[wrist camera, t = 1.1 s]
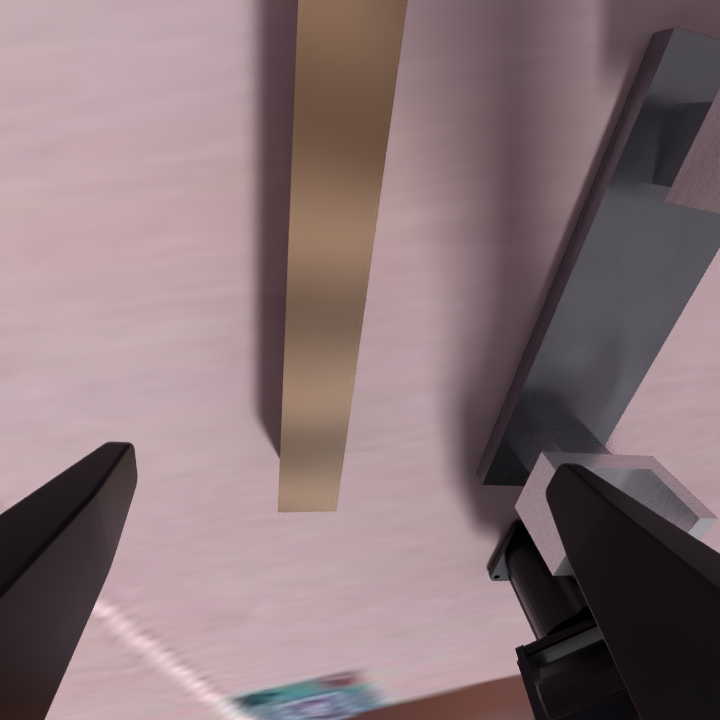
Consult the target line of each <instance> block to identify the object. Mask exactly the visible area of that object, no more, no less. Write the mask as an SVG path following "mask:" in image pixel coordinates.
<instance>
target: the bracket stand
mask: <svg viewBox="0 0 720 720" xmlns="http://www.w3.org/2000/svg"><path fill="white" fill-rule="evenodd" d="M719 248H720V40H718V39H714V38H711V37H707V36H703V35H700V34H696V33H693V32H689V31H685V30H682V29H678V28H671V29H667V30H664V31H660V32H656V33H654V35H653V37H652V40H651V42H650V45H649V47H648V50H647V52H646V55H645V57H644V60H643V62H642V65H641V67H640V70H639V72H638V75H637V77H636V79H635V82H634V84H633V87H632V89H631V92H630V94H629V97H628V99H627V102H626V104H625V107H624V109H623V112H622V114H621V117H620V119H619V122H618V124H617V127H616V129H615V131H614V134H613V136H612V139H611V141H610V144H609V146H608V149H607V151H606V154H605V156H604V159H603V161H602V164H601V166H600V169H599V171H598V174H597V176H596V178H595V181H594V183H593V186H592V188H591V191H590V193H589V196H588V198H587V201H586V203H585V206H584V208H583V211H582V213H581V216H580V218H579V221H578V223H577V226H576V228H575V230H574V233H573V235H572V238H571V240H570V243H569V245H568V248H567V250H566V253H565V255H564V258H563V260H562V263H561V265H560V268H559V270H558V273H557V275H556V277H555V280H554V282H553V285H552V287H551V290H550V292H549V295H548V297H547V300H546V302H545V305H544V307H543V310H542V312H541V315H540V317H539V320H538V322H537V325H536V327H535V329H534V332H533V334H532V337H531V339H530V342H529V344H528V347H527V349H526V352H525V354H524V357H523V359H522V362H521V364H520V367H519V369H518V372H517V374H516V376H515V379H514V381H513V384H512V386H511V389H510V391H509V394H508V396H507V399H506V401H505V404H504V406H503V409H502V411H501V414H500V416H499V419H498V421H497V424H496V426H495V428H494V431H493V433H492V436H491V438H490V441H489V443H488V446H487V448H486V451H485V453H484V456H483V458H482V461H481V463H480V466H479V468H478V471H477V475H478V477H479V479H480V481H481V483H482V485H507V486H524V488H523V491H522V493H521V495H520V497H519V499H518V501H517V503H516V505H515V508H516V510H517V512H518V514H519V516H520V517H521V519H522V521H523V523H524V525H525V526H526V528H527V530H528V532H529V534H530V535H531V537H532V539H533V541H534V543H535V544H536V546H537V548H538V550H539V552H540V553H541V555H542V557H543V559H544V561H545V562H546V564H547V566H548V568H549V570H550V571H551V573H552V575H553V576H567V575H572V574H573V570H572V568H571V566H570V563H569V561H568V558H567V556H566V553H565V550H564V547H563V545H562V542H561V539H560V536H559V533H558V531H557V528H556V525H555V522H554V519H553V517H552V514H551V511H550V508H549V505H548V503H547V500H546V488H547V486H548V484H549V482H550V480H551V479H552V477H553V475H554V473H555V471H556V469H557V468H558V466H559V465H561V464H563V463H572V464H580V465H582V466H584V467H585V468H587V469H588V470H590V471H591V472H593V473H595V474H596V475H598V476H599V477H601V478H602V479H604V480H606V481H607V482H609V483H610V484H612V485H613V486H615V487H616V488H618V489H620V490H621V491H623V492H624V493H626V494H627V495H629V496H631V497H632V498H634V499H635V500H637V501H638V502H640V503H641V504H643V505H645V506H646V507H648V508H649V509H651V510H652V511H654V512H655V513H657V514H659V515H660V516H662V517H663V518H665V519H666V520H668V521H670V522H671V523H673V524H674V525H676V526H677V527H679V528H680V529H682V530H684V531H685V532H687V533H688V534H690V535H691V536H693V537H695V538H696V539H698V540H699V541H700V539H701V538H702V537H703V536H704V535H705V534H706V532H707V531H708V530H709V529H710V528H711V526H712V525H713V524H714V523H715V522H716V521H717V519H718V518H717V517H716V516H715V515H714V514H713V513H712V512H711V511H710V510H709V509H708V508H707V507H706V506H704V505H703V504H702V503H701V502H700V501H699V500H698V499H697V498H696V497H695V496H694V495H693V494H692V493H691V492H690V491H689V490H688V489H687V488H686V487H684V486H683V485H682V484H681V483H680V482H679V481H678V480H677V479H676V478H675V477H674V476H673V475H672V474H671V473H670V472H669V471H668V470H667V469H665V468H664V467H663V466H662V465H661V464H660V463H659V462H658V461H657V460H656V459H655V458H654V457H653V456H633V455H612V454H611V453H610V452H609V451H608V450H607V449H606V448H605V446H604V445H605V444H606V442H607V440H608V439H609V437H610V435H611V433H612V432H613V430H614V428H615V426H616V425H617V423H618V421H619V420H620V418H621V416H622V414H623V413H624V411H625V409H626V408H627V406H628V404H629V402H630V401H631V399H632V397H633V396H634V394H635V392H636V390H637V389H638V387H639V385H640V384H641V382H642V380H643V378H644V377H645V375H646V373H647V371H648V370H649V368H650V366H651V365H652V363H653V361H654V359H655V358H656V356H657V354H658V353H659V351H660V349H661V347H662V346H663V344H664V342H665V341H666V339H667V337H668V335H669V334H670V332H671V330H672V328H673V327H674V325H675V323H676V322H677V320H678V318H679V316H680V315H681V313H682V311H683V310H684V308H685V306H686V304H687V303H688V301H689V299H690V298H691V296H692V294H693V292H694V291H695V289H696V287H697V286H698V284H699V282H700V280H701V279H702V277H703V275H704V273H705V272H706V270H707V268H708V267H709V265H710V263H711V261H712V260H713V258H714V256H715V255H716V253H717V251H718V249H719Z"/></svg>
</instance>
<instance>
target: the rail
mask: <svg viewBox="0 0 720 720" xmlns="http://www.w3.org/2000/svg"><path fill="white" fill-rule="evenodd" d="M406 7H407V0H298V13H297V39H296V64H295V90H294V115H293V140H292V166H291V191H290V217H289V242H288V268H287V293H286V318H285V344H284V369H283V395H282V420H281V446H280V471H279V496H278V512H327V511H336V509H337V502H338V495H339V488H340V481H341V473H342V466H343V459H344V452H345V445H346V437H347V430H348V423H349V416H350V409H351V402H352V394H353V387H354V380H355V373H356V366H357V359H358V351H359V344H360V337H361V330H362V323H363V315H364V308H365V301H366V294H367V287H368V280H369V272H370V265H371V258H372V251H373V244H374V236H375V229H376V222H377V215H378V208H379V201H380V193H381V186H382V179H383V172H384V165H385V157H386V150H387V143H388V136H389V129H390V122H391V114H392V107H393V100H394V93H395V86H396V78H397V71H398V64H399V57H400V50H401V43H402V35H403V28H404V21H405V14H406Z"/></svg>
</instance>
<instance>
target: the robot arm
mask: <svg viewBox="0 0 720 720" xmlns="http://www.w3.org/2000/svg"><path fill="white" fill-rule="evenodd" d="M136 484H137V467H136V458H135V450H134V446H133V444H131V443H129V442H107V443H105V444H103V445H102V446H100V447H99V448H97V449H96V450H95V451H93V452H92V453H90V454H89V455H87V456H86V457H84V458H83V459H81V460H80V461H78V462H77V463H75V464H74V465H72V466H71V467H70V468H68V469H67V470H65V471H64V472H62V473H61V474H59V475H58V476H56V477H55V478H53V479H52V480H50V481H49V482H48V483H46V484H45V485H43V486H42V487H40V488H39V489H37V490H36V491H34V492H33V493H31V494H30V495H28V496H27V497H25V498H24V499H23V500H21V501H20V502H18V503H17V504H15V505H14V506H12V507H11V508H9V509H8V510H6V511H5V512H3V513H2V514H0V720H45V717H46V715H47V713H48V711H49V708H50V706H51V704H52V701H53V699H54V697H55V695H56V692H57V690H58V688H59V685H60V683H61V681H62V678H63V676H64V674H65V672H66V669H67V667H68V665H69V662H70V660H71V658H72V656H73V653H74V651H75V649H76V646H77V644H78V642H79V640H80V637H81V635H82V633H83V630H84V628H85V626H86V624H87V621H88V619H89V617H90V614H91V612H92V610H93V608H94V605H95V603H96V601H97V598H98V596H99V594H100V592H101V589H102V587H103V585H104V582H105V580H106V578H107V575H108V573H109V570H110V568H111V565H112V562H113V559H114V556H115V553H116V550H117V546H118V543H119V540H120V537H121V534H122V530H123V527H124V524H125V521H126V517H127V514H128V511H129V508H130V504H131V501H132V498H133V495H134V492H135V488H136ZM546 500H547V503H548V505H549V508H550V511H551V514H552V517H553V519H554V522H555V525H556V528H557V531H558V533H559V536H560V539H561V542H562V545H563V547H564V550H565V553H566V556H567V558H568V561H569V563H570V566H571V568H572V570H573V574H572V575H567V576H553V575H552V573H551V571H550V570H549V568H548V566H547V564H546V562H545V561H544V559H543V557H542V555H541V553H540V552H539V550H538V548H537V546H536V544H535V543H534V541H533V539H532V537H531V535H530V534H529V532H528V530H527V528H526V526H525V525H524V523H523V521H517V522H515V523H514V524H513V525H512V527H511V529H510V531H509V533H508V535H507V537H506V539H505V541H504V543H503V545H502V547H501V549H500V551H499V553H498V555H497V557H496V559H495V561H494V563H493V565H492V567H491V569H490V571H489V576H490V578H491V580H492V581H510V583H511V585H512V587H513V589H514V591H515V594H516V596H517V598H518V600H519V602H520V605H521V607H522V609H523V611H524V613H525V616H526V618H527V620H528V622H529V624H530V627H531V629H532V631H533V633H534V635H535V638H536V640H537V641H534V642H532V643H530V644H528V645H525V646H523V645H521V646H519V647H517V648H515V650H516V653H517V656H518V661H517V664H518V666H519V669H520V672H521V675H522V678H523V681H524V685H525V688H526V691H527V694H528V697H529V701H530V704H531V707H532V712H533V717H534V720H720V553H718V552H716V551H715V550H713V549H712V548H710V547H709V546H707V545H705V544H704V543H702V542H701V541H699V540H698V539H696V538H695V537H693V536H691V535H690V534H688V533H687V532H685V531H684V530H682V529H680V528H679V527H677V526H676V525H674V524H673V523H671V522H670V521H668V520H666V519H665V518H663V517H662V516H660V515H659V514H657V513H655V512H654V511H652V510H651V509H649V508H648V507H646V506H645V505H643V504H641V503H640V502H638V501H637V500H635V499H634V498H632V497H631V496H629V495H627V494H626V493H624V492H623V491H621V490H620V489H618V488H616V487H615V486H613V485H612V484H610V483H609V482H607V481H606V480H604V479H602V478H601V477H599V476H598V475H596V474H595V473H593V472H591V471H590V470H588V469H587V468H585V467H584V466H582V465H580V464H572V463H563V464H561V465H559V466H558V468H557V469H556V471H555V473H554V475H553V477H552V479H551V480H550V482H549V484H548V486H547V488H546Z"/></svg>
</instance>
